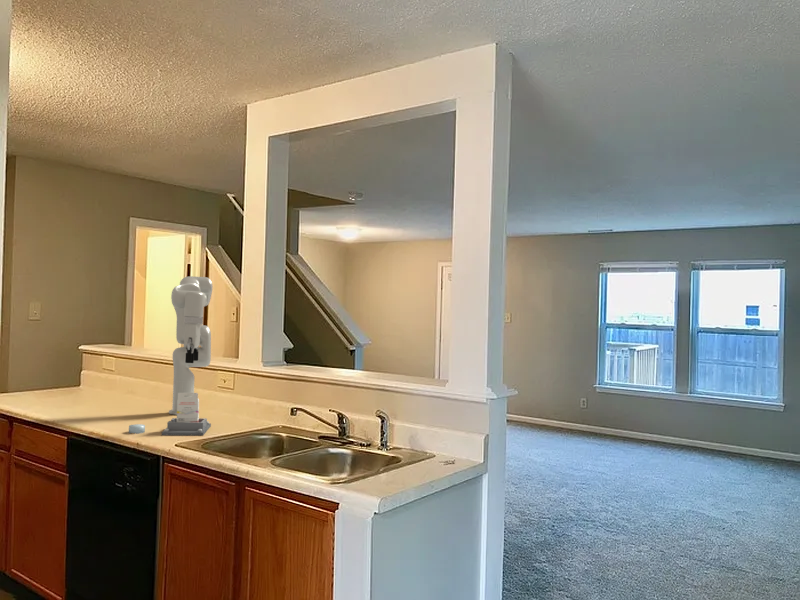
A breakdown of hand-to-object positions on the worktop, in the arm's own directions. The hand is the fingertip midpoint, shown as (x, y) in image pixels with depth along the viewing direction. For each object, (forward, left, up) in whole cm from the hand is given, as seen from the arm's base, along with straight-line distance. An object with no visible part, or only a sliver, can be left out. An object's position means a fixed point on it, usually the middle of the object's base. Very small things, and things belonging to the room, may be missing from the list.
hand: (191, 361), depth 264 cm
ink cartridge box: (+1, -1, -28) cm, 28 cm away
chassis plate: (+2, 0, -29) cm, 28 cm away
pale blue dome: (+6, -19, -29) cm, 35 cm away
